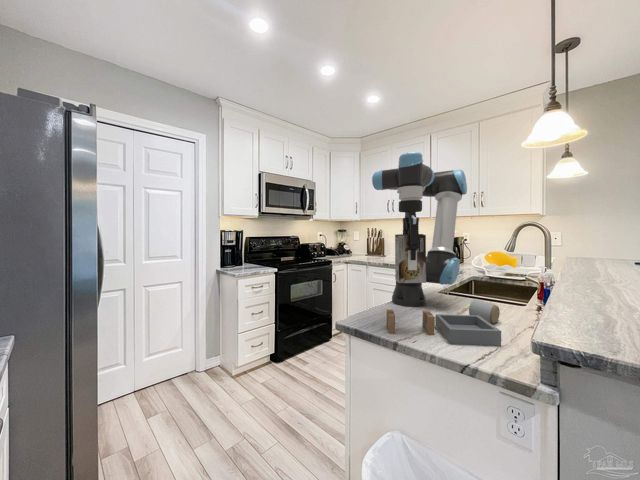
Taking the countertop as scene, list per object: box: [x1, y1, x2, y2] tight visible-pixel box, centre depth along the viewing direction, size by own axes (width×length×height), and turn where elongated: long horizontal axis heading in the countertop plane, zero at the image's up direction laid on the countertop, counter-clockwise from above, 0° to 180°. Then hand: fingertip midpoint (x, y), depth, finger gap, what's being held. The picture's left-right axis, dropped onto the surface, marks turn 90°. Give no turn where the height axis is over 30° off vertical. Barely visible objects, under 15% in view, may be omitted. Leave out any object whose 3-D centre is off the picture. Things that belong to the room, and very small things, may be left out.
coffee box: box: [394, 233, 427, 284], centre depth 92 cm, size 9×6×16 cm
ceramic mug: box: [468, 298, 501, 325], centre depth 102 cm, size 11×8×8 cm
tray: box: [434, 313, 502, 347], centre depth 88 cm, size 14×14×4 cm
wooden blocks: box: [385, 308, 435, 336], centre depth 93 cm, size 7×14×6 cm, turn 83°
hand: (410, 268), depth 92 cm, fingers closed on coffee box, 6 cm apart
